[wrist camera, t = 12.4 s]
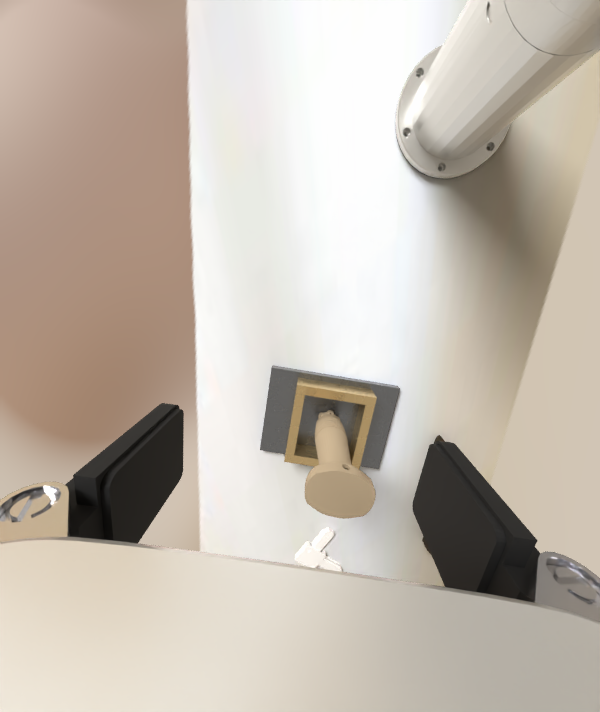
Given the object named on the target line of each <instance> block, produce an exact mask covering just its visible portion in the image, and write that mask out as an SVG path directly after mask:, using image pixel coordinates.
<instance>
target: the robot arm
mask: <svg viewBox="0 0 600 712" xmlns="http://www.w3.org/2000/svg"><path fill="white" fill-rule="evenodd" d="M599 50H600V0H467V2H466V4H465V6H464V8H463V9H462V11H461V13H460V15H459V17H458V18H457V20H456V22H455V24H454V26H453V27H452V29H451V31H450V33H449V35H448V37H447V38H446V40H445V42H444V44H443V45H441V46H439V47H437V48H435V49H434V50H432V51H431V52H430V53H428V54H427V55H426V56H425V57H424V58H423V59H422V60H421V61H420V62H419V63H418V64H417V65H416V66H415V68H414V69H413V71H412V72H411V74H410V75H409V77H408V79H407V81H406V83H405V85H404V87H403V89H402V92H401V94H400V97H399V100H398V104H397V109H396V120H395V126H396V135H397V139H398V142H399V145H400V148H401V150H402V152H403V154H404V156H405V157H406V159H407V160H408V161H409V162H410V164H411V165H412V166H413V167H415V168H416V169H417V170H419V171H420V172H422V173H424V174H426V175H428V176H431V177H436V178H453V177H458V176H461V175H464V174H466V173H468V172H470V171H472V170H474V169H475V168H477V167H478V166H480V165H481V164H482V163H484V162H485V161H486V160H487V159H489V158H490V157H491V156H492V154H493V153H494V152H495V151H496V150H497V149H498V147H499V146H500V144H501V143H502V141H503V140H504V138H505V136H506V134H507V132H508V130H509V127H510V124H511V122H512V121H513V120H515V119H516V118H517V117H518V116H520V115H521V114H522V113H523V112H525V111H526V110H527V109H528V108H529V107H531V106H532V105H533V104H534V103H536V102H537V101H538V100H539V99H540V98H542V97H543V96H544V95H545V94H547V93H548V92H549V91H550V90H552V89H553V88H554V87H555V86H556V85H558V84H559V83H560V82H561V81H563V80H564V79H565V78H566V77H567V76H569V75H570V74H571V73H572V72H574V71H575V70H576V69H577V68H579V67H580V66H581V65H582V64H583V63H585V62H586V61H587V60H588V59H590V58H591V57H592V56H593V55H595V54H596V53H597V52H598V51H599ZM403 134H405V135H406V137H405V136H404V135H403ZM438 168H439V169H440V171H439V170H438ZM182 472H183V410H180V409H179V406H178V405H173V404H165V403H162V404H160V405H159V406H157V407H156V408H155V409H154V410H153V411H151V412H150V413H149V414H148V415H146V416H145V417H144V418H143V419H141V420H140V421H139V422H138V423H137V424H135V425H134V426H133V427H132V428H131V429H129V430H128V431H127V432H126V433H124V434H123V435H122V436H121V437H119V438H118V439H117V440H116V441H115V442H113V443H112V444H111V445H110V446H108V447H107V448H106V449H105V450H103V451H102V452H101V453H100V454H99V455H97V456H96V457H95V458H94V459H92V460H91V461H90V462H89V463H88V464H86V465H85V466H84V467H83V468H81V469H80V470H79V471H78V472H76V474H74V475H73V477H74V478H73V479H72V480H70V482H68V483H67V484H66V485H64V484H62V483H59V482H43V483H37V484H33V485H29V486H27V487H23V488H21V489H19V490H17V491H14V492H12V493H10V494H9V495H7V496H5V497H4V498H2V499H1V500H0V712H600V578H599V577H598V576H597V575H595V574H594V573H593V572H591V571H590V570H589V569H587V568H586V567H585V566H583V565H581V564H580V563H578V562H576V561H575V560H573V559H571V558H568V557H566V556H564V555H561V554H558V553H555V552H543V553H541V554H540V553H539V551H538V550H537V549H536V548H535V547H534V546H535V544H536V542H537V540H536V539H535V537H534V536H533V535H532V534H531V532H530V531H529V530H528V529H527V528H526V527H525V525H524V524H523V523H522V522H521V521H520V520H519V519H518V517H517V516H516V515H515V514H514V513H513V511H512V510H511V509H510V508H509V507H508V506H507V504H506V503H505V502H504V501H503V500H502V499H501V497H500V496H499V495H498V494H497V493H496V492H495V490H494V489H493V488H492V487H491V486H490V485H489V483H488V482H487V481H486V480H485V479H484V477H483V476H482V475H481V474H480V473H479V472H478V470H477V469H476V468H475V467H474V466H473V465H472V463H471V462H470V461H469V460H468V459H467V458H466V456H465V455H464V454H463V453H462V452H461V451H460V449H459V448H458V447H457V446H456V445H455V444H454V443H450V442H443V441H436V442H435V443H434V444H431V445H430V446H429V449H428V452H427V456H426V459H425V462H424V466H423V469H422V473H421V476H420V480H419V483H418V486H417V490H416V493H415V497H414V500H413V512H414V515H415V517H416V519H417V522H418V524H419V526H420V529H421V531H422V534H423V536H424V538H425V541H426V543H427V545H428V548H429V550H430V552H431V555H432V557H433V559H434V562H435V564H436V566H437V569H438V571H439V573H440V576H441V578H442V580H443V583H444V585H445V587H441V586H434V585H427V584H421V583H414V582H407V581H401V580H394V579H387V578H381V577H374V576H367V575H361V574H354V573H347V572H340V571H333V570H326V569H319V568H312V567H306V566H298V565H291V564H284V563H277V562H270V561H263V560H256V559H249V558H242V557H235V556H227V555H220V554H213V553H205V552H198V551H190V550H183V549H175V548H169V547H161V546H153V545H145V544H138V542H139V540H140V539H141V538H142V536H143V534H144V533H145V531H146V530H147V529H148V527H149V526H150V524H151V522H152V521H153V520H154V518H155V517H156V515H157V514H158V512H159V510H160V509H161V507H162V506H163V505H164V503H165V502H166V500H167V499H168V497H169V495H170V494H171V493H172V491H173V490H174V488H175V486H176V485H177V484H178V482H179V480H180V479H181V476H182Z"/></svg>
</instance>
